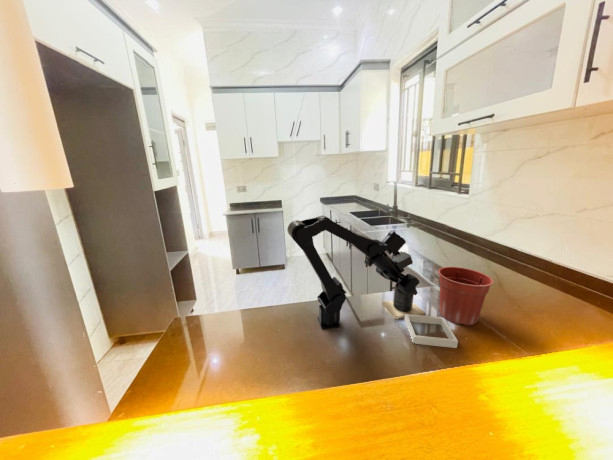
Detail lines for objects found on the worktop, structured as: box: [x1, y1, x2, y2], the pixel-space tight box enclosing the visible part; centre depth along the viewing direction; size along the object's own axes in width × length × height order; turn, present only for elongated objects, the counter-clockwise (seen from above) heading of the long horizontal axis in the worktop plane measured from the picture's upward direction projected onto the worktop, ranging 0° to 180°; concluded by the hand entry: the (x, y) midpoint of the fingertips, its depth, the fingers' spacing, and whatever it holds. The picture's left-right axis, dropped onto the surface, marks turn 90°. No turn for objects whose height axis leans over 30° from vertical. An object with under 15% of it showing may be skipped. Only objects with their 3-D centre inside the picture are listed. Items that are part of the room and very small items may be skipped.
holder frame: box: [403, 314, 459, 349], centre depth 82 cm, size 13×13×2 cm
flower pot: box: [437, 266, 494, 326], centre depth 90 cm, size 16×16×16 cm
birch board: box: [381, 300, 426, 320], centre depth 96 cm, size 12×10×1 cm
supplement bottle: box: [392, 279, 415, 312], centre depth 94 cm, size 7×7×12 cm
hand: (408, 288), depth 94 cm, fingers open, 9 cm apart
